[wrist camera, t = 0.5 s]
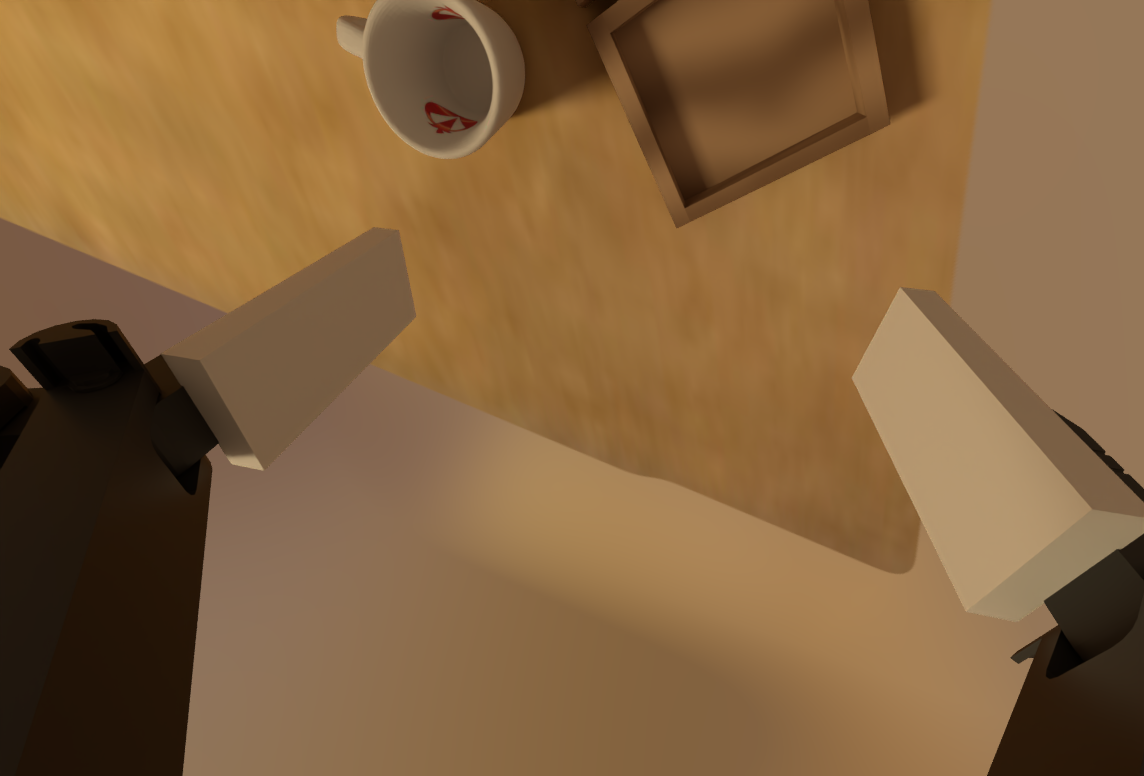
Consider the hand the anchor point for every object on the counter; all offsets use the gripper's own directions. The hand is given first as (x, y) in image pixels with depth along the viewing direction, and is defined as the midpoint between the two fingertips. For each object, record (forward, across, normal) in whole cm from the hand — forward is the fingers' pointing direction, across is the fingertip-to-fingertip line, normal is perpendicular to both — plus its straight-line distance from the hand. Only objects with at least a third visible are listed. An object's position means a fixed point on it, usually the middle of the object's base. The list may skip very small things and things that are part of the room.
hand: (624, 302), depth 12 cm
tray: (+24, +4, +4) cm, 24 cm away
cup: (+24, -14, +4) cm, 28 cm away
